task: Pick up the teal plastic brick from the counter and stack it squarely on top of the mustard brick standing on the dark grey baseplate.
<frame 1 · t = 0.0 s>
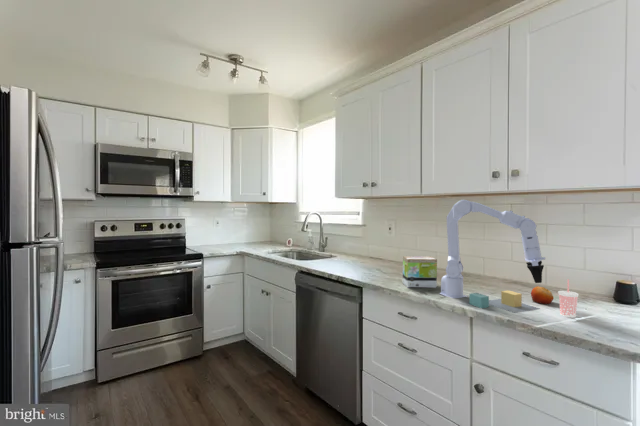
hand: (537, 280, 135), 11 cm above the worktop, fingers open, 7 cm apart
tea box: (419, 286, 172), on the worktop
beverage cup: (567, 317, 123), on the worktop
teal brick: (478, 307, 135), on the worktop
fruit: (541, 304, 139), on the worktop
baseplate: (509, 306, 136), on the worktop
mustard brick: (511, 304, 136), point 1 cm above the worktop, touching baseplate
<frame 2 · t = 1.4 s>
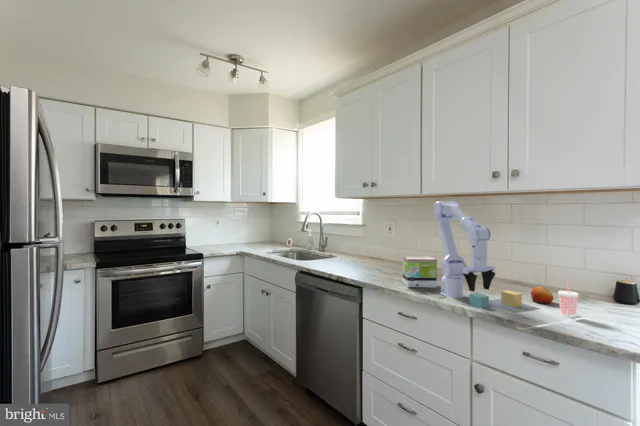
hand: (479, 290, 135), 7 cm above the worktop, fingers open, 7 cm apart
nothing on the worktop moved.
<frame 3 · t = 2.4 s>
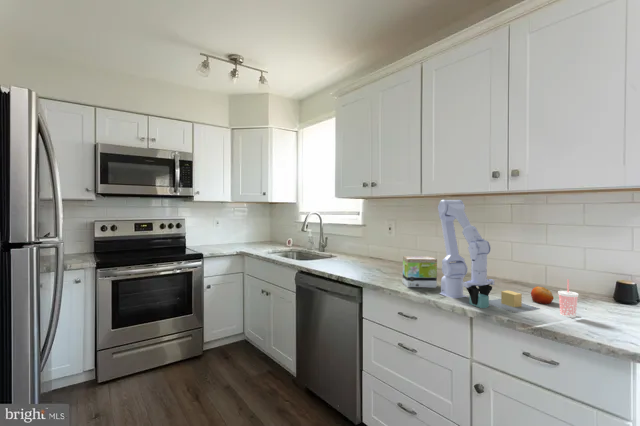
hand: (478, 303, 135), 1 cm above the worktop, fingers closed on teal brick, 4 cm apart
teal brick: (478, 306, 135), on the worktop, touching gripper
everything else where it was.
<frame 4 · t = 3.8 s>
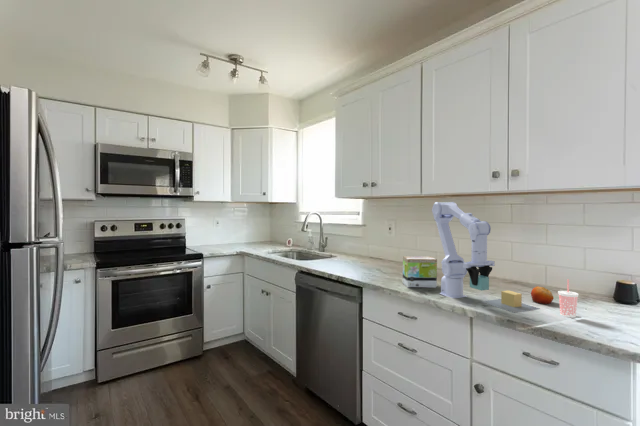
hand: (479, 284, 135), 9 cm above the worktop, fingers closed on teal brick, 4 cm apart
teal brick: (479, 288, 135), point 8 cm above the worktop, touching gripper
everything else where it was.
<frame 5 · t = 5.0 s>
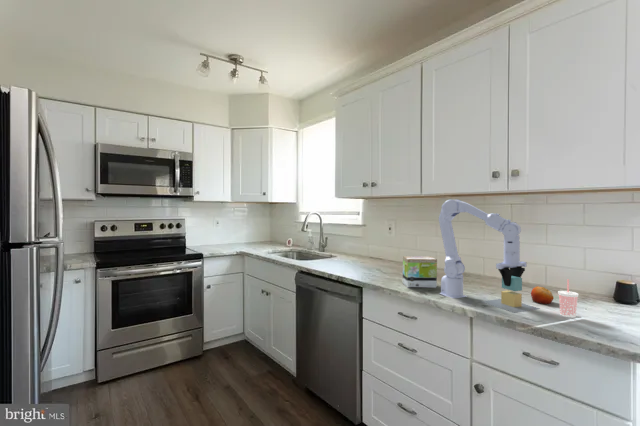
hand: (511, 285, 136), 9 cm above the worktop, fingers closed on teal brick, 4 cm apart
teal brick: (511, 289, 136), point 7 cm above the worktop, touching gripper
everything else where it was.
when the fingers open (8 cm above the worktop, at t = 5.5 s): teal brick stays where it is, resting on mustard brick.
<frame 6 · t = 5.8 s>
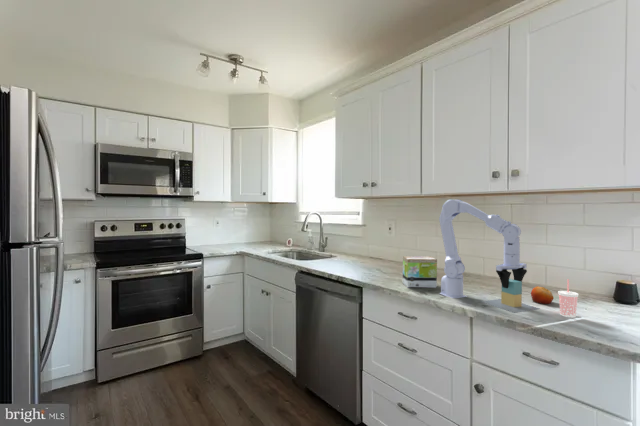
hand: (511, 287, 136), 8 cm above the worktop, fingers open, 6 cm apart
teal brick: (511, 292, 136), point 6 cm above the worktop, touching mustard brick
mustard brick: (511, 304, 136), point 1 cm above the worktop, touching baseplate, teal brick
everything else where it was.
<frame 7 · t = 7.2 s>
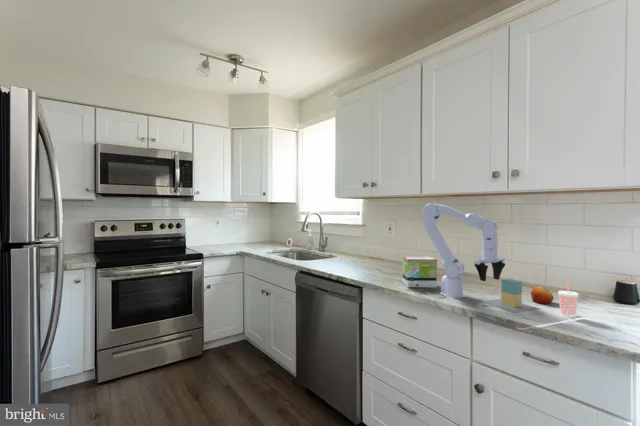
hand: (489, 279, 142), 9 cm above the worktop, fingers open, 7 cm apart
nothing on the worktop moved.
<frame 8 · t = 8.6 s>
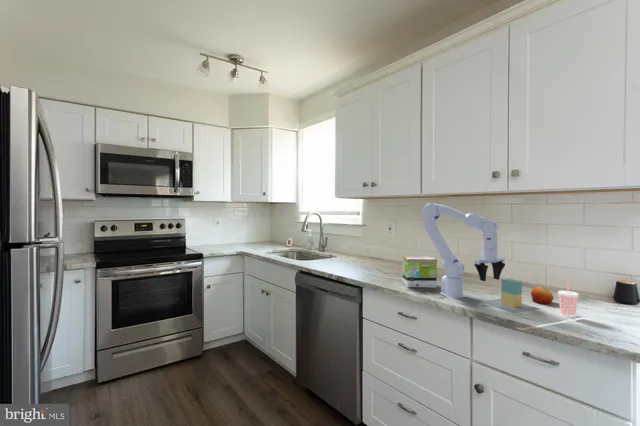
hand: (489, 279, 142), 9 cm above the worktop, fingers open, 7 cm apart
nothing on the worktop moved.
at the end: teal brick 0.1 cm from the mustard brick (horizontally); teal brick point 5.6 cm above the worktop; teal brick tilted 0° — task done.
